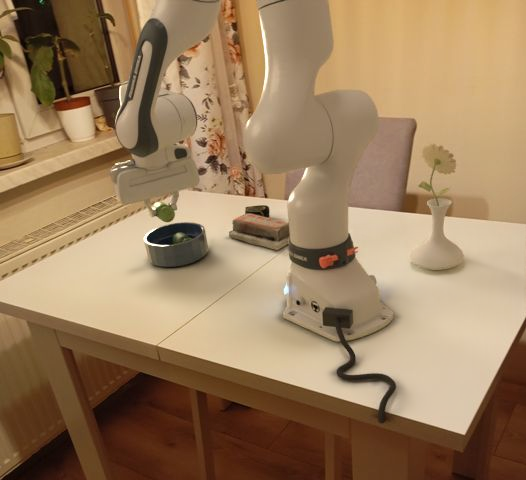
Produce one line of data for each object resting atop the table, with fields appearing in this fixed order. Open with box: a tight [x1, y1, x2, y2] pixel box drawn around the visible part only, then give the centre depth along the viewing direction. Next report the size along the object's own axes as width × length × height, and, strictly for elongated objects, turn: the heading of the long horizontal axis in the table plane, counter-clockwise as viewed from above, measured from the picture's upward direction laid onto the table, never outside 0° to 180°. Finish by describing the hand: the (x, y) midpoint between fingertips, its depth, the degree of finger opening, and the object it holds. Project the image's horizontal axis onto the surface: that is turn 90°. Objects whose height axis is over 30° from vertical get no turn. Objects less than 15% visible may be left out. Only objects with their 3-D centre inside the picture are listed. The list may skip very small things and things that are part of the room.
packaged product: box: [228, 213, 290, 251], centre depth 147 cm, size 18×5×10 cm
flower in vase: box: [408, 143, 465, 271], centre depth 119 cm, size 13×11×25 cm
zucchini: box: [172, 232, 192, 244], centre depth 144 cm, size 10×4×4 cm, turn 30°
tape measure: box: [244, 204, 271, 218], centre depth 158 cm, size 7×7×4 cm
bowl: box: [143, 221, 209, 268], centre depth 143 cm, size 15×15×6 cm
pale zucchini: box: [152, 201, 176, 223], centre depth 137 cm, size 9×4×4 cm, turn 30°
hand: (163, 213), depth 138 cm, fingers closed on pale zucchini, 4 cm apart
